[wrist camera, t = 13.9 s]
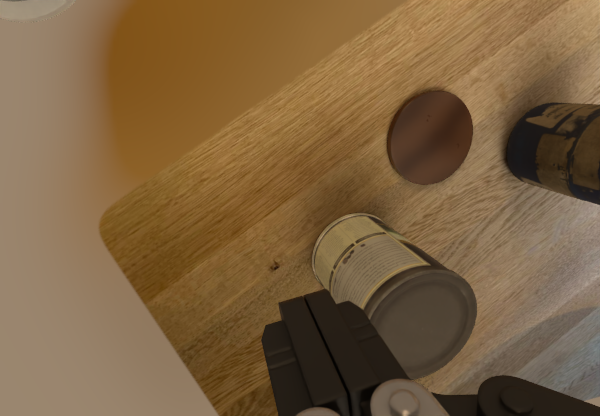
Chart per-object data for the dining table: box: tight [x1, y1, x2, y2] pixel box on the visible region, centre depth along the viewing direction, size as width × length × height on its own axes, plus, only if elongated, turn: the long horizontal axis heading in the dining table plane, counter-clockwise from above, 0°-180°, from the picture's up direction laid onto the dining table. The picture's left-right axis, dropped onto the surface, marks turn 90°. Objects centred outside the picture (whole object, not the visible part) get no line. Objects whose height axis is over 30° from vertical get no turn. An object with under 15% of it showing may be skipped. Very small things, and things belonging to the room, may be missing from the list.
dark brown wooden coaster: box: [387, 91, 473, 185], centre depth 39 cm, size 10×10×1 cm
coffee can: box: [312, 213, 477, 380], centre depth 35 cm, size 10×10×14 cm
